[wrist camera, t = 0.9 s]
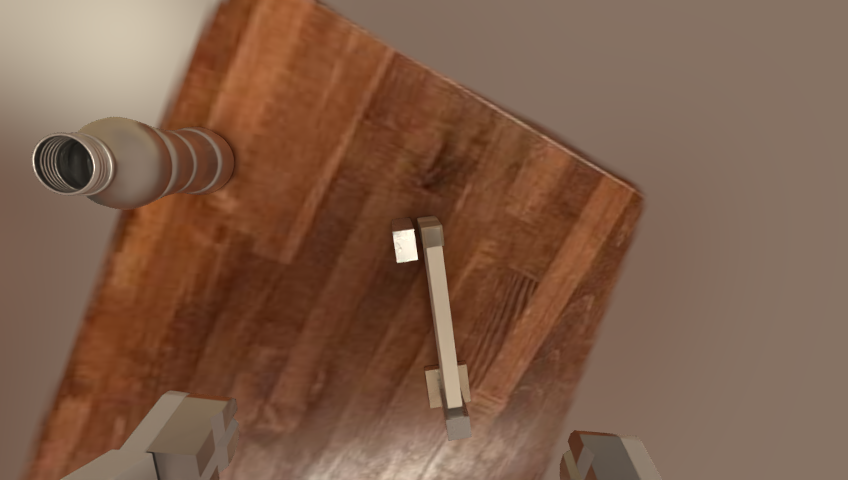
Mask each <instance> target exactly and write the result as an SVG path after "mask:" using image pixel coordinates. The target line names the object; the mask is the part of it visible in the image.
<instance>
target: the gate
mask: <svg viewBox="0 0 848 480" xmlns="http://www.w3.org/2000/svg"><path fill="white" fill-rule="evenodd" d="M417 223H418V230H419V236H420V239H421V242H422V245H423V250H424V257H425V264H426V272H427V279H428V286H429V294H430V301H431V308H432V315H433V323H434V330H435V337H436V345H437V352H438V359H439V366H440V374H441V379H442V383H443V388H444V392H445V397H446V401H447V405H448V408H454V407H460V406H462V399H461V391H460V383H459V375H458V367H457V360H456V352H455V344H454V336H453V328H452V320H451V313H450V305H449V297H448V289H447V281H446V273H445V266H444V258H443V250H442V246H445V245H444V237H443V229H442V224H441V223H440V222H439V220H438V219H437V218H436V216H429V217H422V218H417Z"/></svg>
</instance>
